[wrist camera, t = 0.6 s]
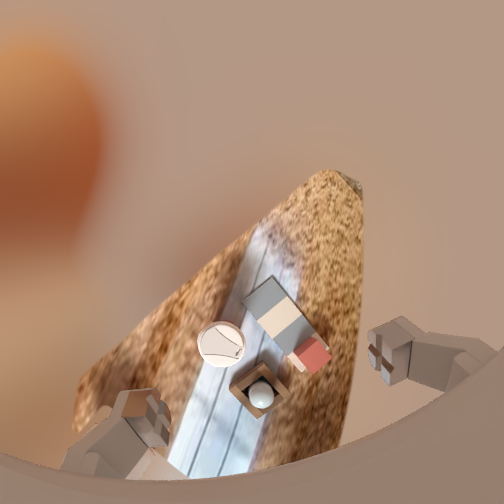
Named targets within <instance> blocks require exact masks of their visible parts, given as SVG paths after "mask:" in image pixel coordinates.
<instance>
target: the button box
mask: <svg viewBox="0 0 504 504" xmlns="http://www.w3.org/2000/svg"><path fill="white" fill-rule="evenodd" d="M262 375H263V376H264V377H265V378H266V379H267V380H268V381H269V383H270V384H271V385H272V386H273V387H274V388H275V389H276V391H274V392H273V393H274V400H273V403H272V404H271V405H270V406H269V407H267V408H257V407H255V406H253V405H252V404H251V402H250V399H249V395H248V394H247V393H246V392H245V391H244V390H243V389H245V388H246V387H247V386H249V385H250V384H252V383H253V382H254V381H256V380H257V379H258V378H260V377H261V376H262ZM229 391H230V392H231V393H232V394H233V395H234V396H235V397H236V398H237V399H238V400H239V401H240V402H241V403H242V404H243V405H244V406H245V407H246V409H247V410H248V411H249V412H250V413H251V414H252V415H253V416H254V417H255V418H256V419H258V418H259V417H261V416H262V415H264V414H265V413H266V412H268V411H269V410H271V409H272V408H273V407H275V406H276V405H277V404H279V403H280V402H281V401H283V400H284V399H285V398H287V397H288V396H289V395H291V393H290V391H289V390H288V388H287V387H286V386H285V385H284V384H283V383H282V382H281V381H280V380H279V379H278V377H277V376H276V375H275V374H274V373H273V372H272V371H271V370H270V368H269V367H268V366H267V365H266V364H265V363H264V362H263V361H261V362H260V363H259V364H257V365H256V366H255V367H254V368H252V369H251V370H250V371H248V372H247V373H246V374H244V375H243V376H242V377H240V378H239V379H238V380H236V381H235V382H233V383H232V384H231V385H229Z"/></svg>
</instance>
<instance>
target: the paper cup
mask: <svg viewBox="0 0 504 504" xmlns="http://www.w3.org/2000/svg"><path fill="white" fill-rule="evenodd" d="M197 343H198V348H199V351H200V354H201V356H202V357H203V358H204V360H206V361H207V362H208V363H209V364H211V365H213V366H217V367H229V366H232V365H234V364H236V363H237V362H238V361H239V360H240V359H241V358H242V357H243V355H244V352H245V349H246V341H245V337H244V335H243V333H242V332H241V330H240V329H239V328H238V327H237V326H235V325H234V324H233V323H231V322H229V321H218V322H214V323H211V324H209V325H208V326H206V327H205V328H204V329H203V330H202V331H201V332H200V334H199V336H198V340H197Z"/></svg>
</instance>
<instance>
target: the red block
mask: <svg viewBox="0 0 504 504" xmlns="http://www.w3.org/2000/svg"><path fill="white" fill-rule="evenodd" d="M293 353H294V354H295V355H296V356H297V357H298V359H299V360H300V361H301V362H302V363H303V364H304V366H305V367H306V368H307V369H308V370H309V371H310V372H311V373H312V374H314V373H315V372H316V371H317V370H319V369H320V368H321V367H322V366H323V365H324V364H326V363H327V362H328V361H329V360H330V359H331V358H332V357H331V355H330V354H329V353H328V352H327V351H326V349H325V348H324V347H323V346H322V344H321V343H320V342H319V341H318V340H317V339H315V338H313V337H310V338H308V339H307V340H306V341H305V342H304V343H303V344H301V345H300V346H299V347H298V348H297V349H295V350H294V351H293Z"/></svg>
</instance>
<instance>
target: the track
mask: <svg viewBox="0 0 504 504" xmlns="http://www.w3.org/2000/svg"><path fill="white" fill-rule="evenodd" d="M242 303H243V304H244V305H245V306H246V308H247V309H248V310H249V311H250V313H251V314H252V315H253V316H254V317H255V319H256V320H257V321H258V322H259V324H260V325H261V326H262V327H263V328H264V330H265V331H266V332H267V333H268V334H269V336H270V337H271V338H272V339H273V340H274V341H275V343H276V344H277V345H278V346H279V347H280V349H281V350H282V351H283V352H284V353H285V354H286V356H287V357H288V358H289V359H290V360H291V361H292V363H293V364H294V365H295V366H296V367H297V368H298V370H299V371H300V372H303V371H304V370H305V369H306V367H305V366H304V364H303V363H302V362H301V361H300V360H299V359H298V357H297V356H296V355H295V354H294V353H293V351H294V350H295V349H297V348H298V347H299V346H300V345H301V344H303V343H304V342H305V341H306V340H307V339H308V338H310V337H313V338H315V339H317V340H318V341H319V342H320V343H321V344H322V346H323V347H324V348H325V349H326V351H327V350H328V349H329V347H328V346H327V344H326V343H325V342H324V341H323V340H322V338H321V337H320V336H319V335H318V333H317V332H316V331H315V330H314V328H313V327H312V326H311V325H310V323H309V322H308V321H307V320H306V318H305V317H304V316H303V315H302V314H301V312H300V311H299V310H298V309H297V307H296V306H295V305H294V304H293V302H292V301H291V300H290V299H289V297H288V296H287V295H286V294H285V292H284V291H283V290H282V289H281V288H280V286H279V285H278V284H277V283H276V281H275V280H274V279H273V278H270V279H269V280H268V281H267V282H265V283H264V284H263V285H262V286H260V287H259V288H258V289H257V290H255V291H254V292H253V293H252V294H250V295H249V296H248V297H247V298H245V299H244V300H243V301H242Z"/></svg>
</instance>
